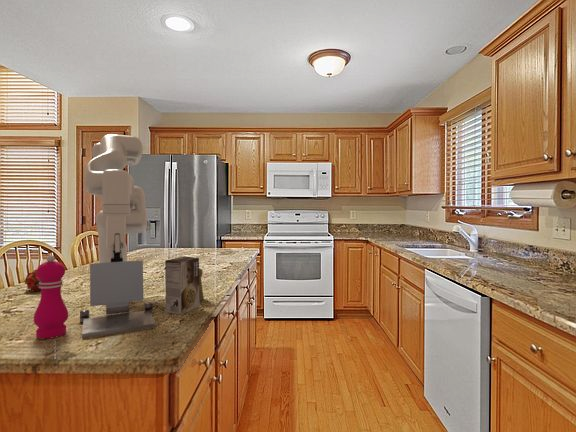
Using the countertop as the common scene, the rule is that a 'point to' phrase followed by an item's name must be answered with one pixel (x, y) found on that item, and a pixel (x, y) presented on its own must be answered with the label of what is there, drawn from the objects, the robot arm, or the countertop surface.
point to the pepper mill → (50, 300)
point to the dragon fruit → (32, 281)
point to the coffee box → (182, 284)
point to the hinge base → (117, 322)
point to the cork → (200, 286)
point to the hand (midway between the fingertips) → (116, 271)
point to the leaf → (116, 285)
